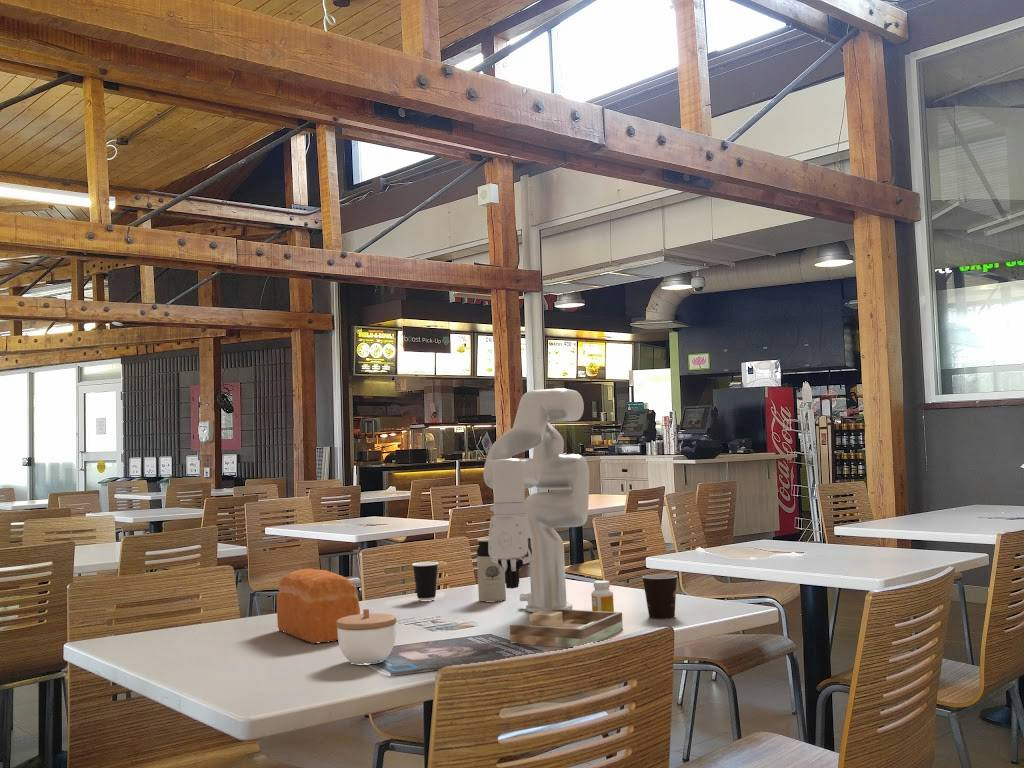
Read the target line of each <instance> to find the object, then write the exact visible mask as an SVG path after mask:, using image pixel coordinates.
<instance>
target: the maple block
mask: <svg viewBox="0 0 1024 768" xmlns="http://www.w3.org/2000/svg"><path fill="white" fill-rule="evenodd" d="M561 625H563V620H562V612H552V611H538V612H535V613H534V612H531V613H530V614H529V626H545V627H559V626H561Z"/></svg>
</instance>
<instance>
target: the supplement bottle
mask: <svg viewBox="0 0 1024 768" xmlns="http://www.w3.org/2000/svg"><path fill="white" fill-rule="evenodd" d="M610 584H611V583H610V580H596V581H593V588H594V590H592V591H591V611H603V612H615V610H614V609H615V608H614V607H615V606H614V593H613V591H612V590H611V589H610V587H611V586H610Z"/></svg>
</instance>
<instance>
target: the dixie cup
mask: <svg viewBox="0 0 1024 768" xmlns="http://www.w3.org/2000/svg"><path fill="white" fill-rule="evenodd" d="M411 565H412V571H413V575H414V582H415V590H416V597H417V599H419V600H432V599H435V598H436V595H437V593H436V591H437V579H438V565H439V562H438V561H420V562H413V563H412V564H411ZM419 600H418V601H419ZM435 600H436V599H435Z"/></svg>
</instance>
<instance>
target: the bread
mask: <svg viewBox="0 0 1024 768" xmlns="http://www.w3.org/2000/svg"><path fill="white" fill-rule="evenodd" d="M278 587H279V591H278V593H277V594H276V616H277V618H276V621H277V628H278V630H279V631H280V630H281V631H280V632H282V631H284V632H283V633H285V632H286V633H285V634H287V633H288V634H287V635H289V634H291V635H290V636H292V635H293V636H292V637H294V636H295V638H297V637H298V638H297V639H299V638H300V640H302V639H303V640H302V641H304V640H305V642H307V641H308V642H307V643H309V642H311V643H310V644H314V643H317V642H327V643H329V642H328V641H335V642H337V641H336V640H338V635H337V626H336V621H337V620H338V619H340V618H342V617H346V616H351V615H358V614H361V608H360V602H359V597H358V596H357V591H356V589H357V587H356V586H355V585H354V584H353V582H352V581H351V580H350V579H348V578H347V577H345V576H343V575H340V574H338V573H335V572H332V571H330V570H325V569H314V568H303V569H297V570H293V571H291V572H290V573H287V574H285V575H284V576H283V577H281V578H280V580H279V582H278Z"/></svg>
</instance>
